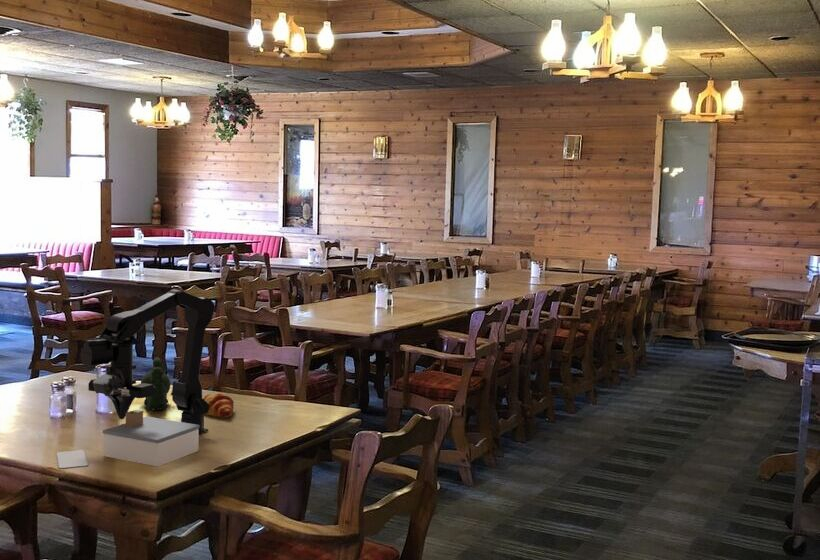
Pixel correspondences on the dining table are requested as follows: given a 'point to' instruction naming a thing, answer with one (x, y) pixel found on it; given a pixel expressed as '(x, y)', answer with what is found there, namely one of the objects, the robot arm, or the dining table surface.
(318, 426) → the dining table surface
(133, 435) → the lid
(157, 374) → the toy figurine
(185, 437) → the lidded box
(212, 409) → the croissant
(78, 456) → the smartphone
